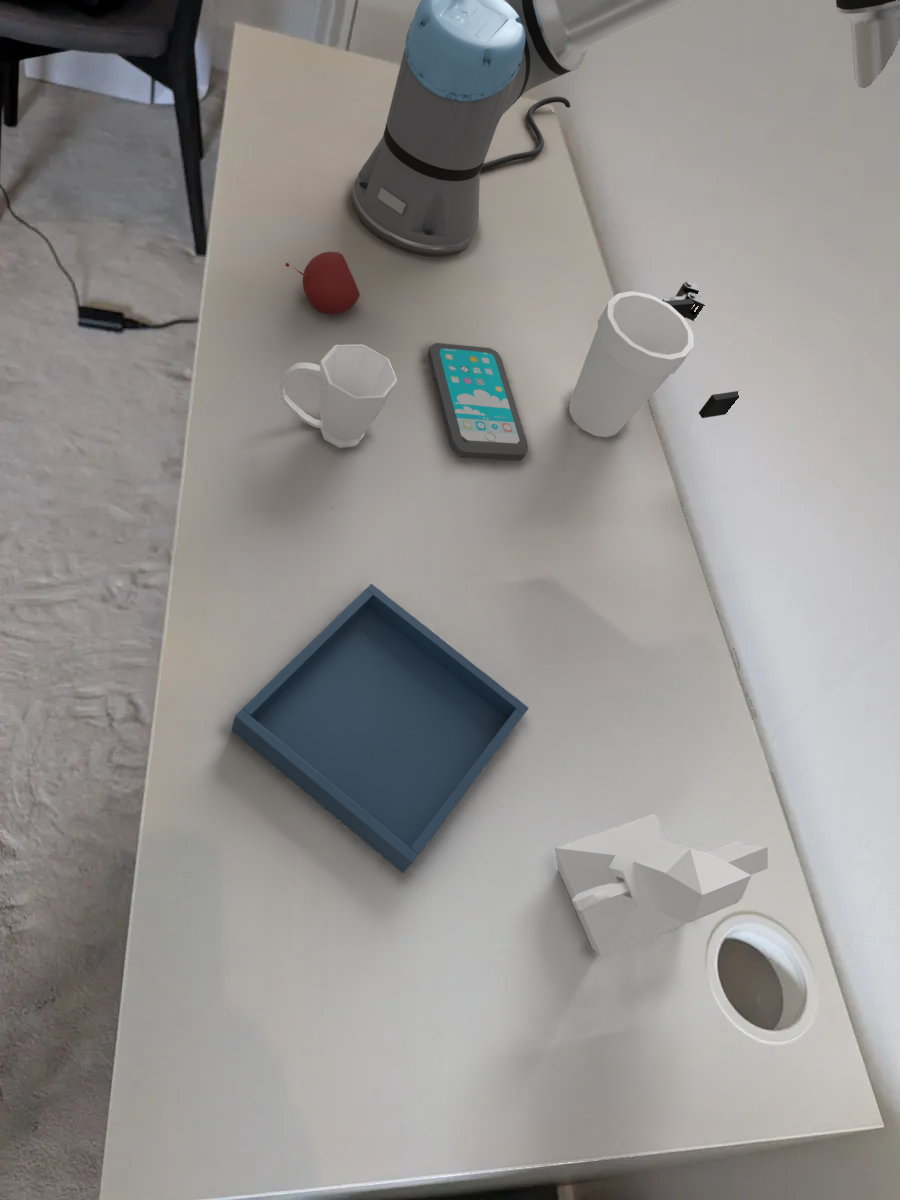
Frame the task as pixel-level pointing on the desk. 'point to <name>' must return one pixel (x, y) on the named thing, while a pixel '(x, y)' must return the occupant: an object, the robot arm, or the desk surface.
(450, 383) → the smartphone
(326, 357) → the cup
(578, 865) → the tape dispenser
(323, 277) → the fruit
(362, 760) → the tray
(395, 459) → the desk surface
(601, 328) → the foam cup
